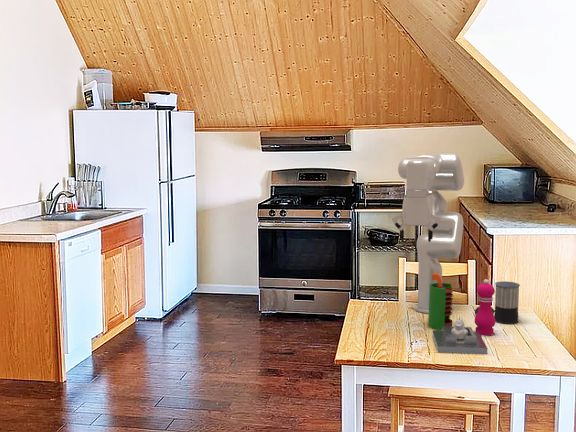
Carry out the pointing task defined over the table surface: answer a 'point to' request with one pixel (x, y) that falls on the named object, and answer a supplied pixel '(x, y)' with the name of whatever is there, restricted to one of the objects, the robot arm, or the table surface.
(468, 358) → the table surface
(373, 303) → the table surface
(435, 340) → the plate
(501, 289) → the milk frother
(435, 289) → the green round disc holder
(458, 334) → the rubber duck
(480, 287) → the pepper mill
